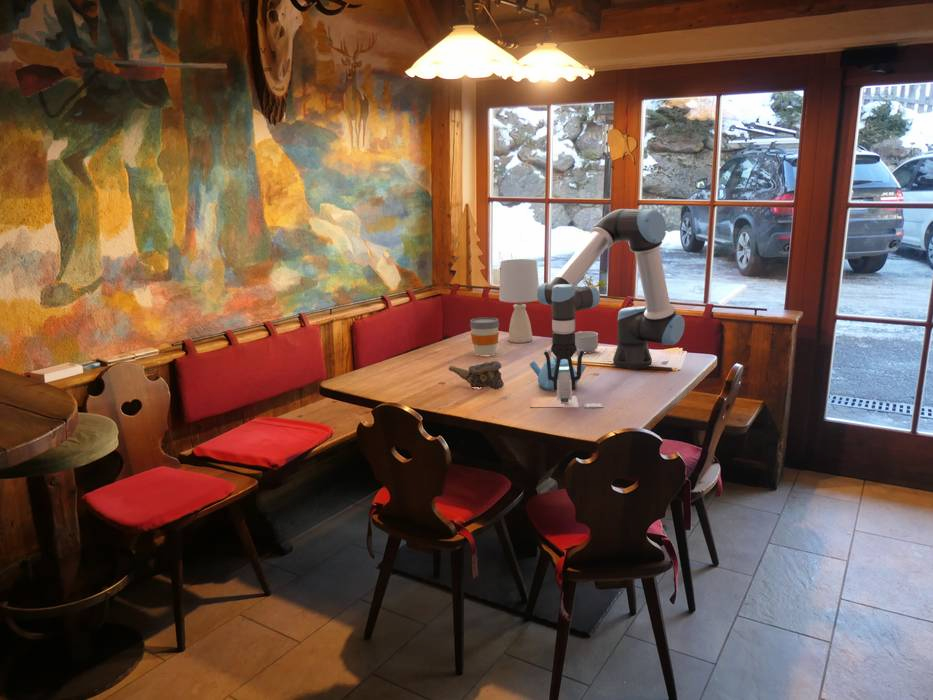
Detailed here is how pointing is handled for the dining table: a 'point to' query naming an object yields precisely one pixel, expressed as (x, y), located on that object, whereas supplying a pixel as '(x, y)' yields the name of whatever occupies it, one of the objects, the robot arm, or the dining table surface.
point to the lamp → (519, 294)
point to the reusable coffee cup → (484, 335)
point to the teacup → (586, 341)
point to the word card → (593, 405)
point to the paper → (571, 402)
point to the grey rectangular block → (564, 384)
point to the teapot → (543, 372)
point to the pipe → (481, 375)
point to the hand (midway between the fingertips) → (564, 399)
